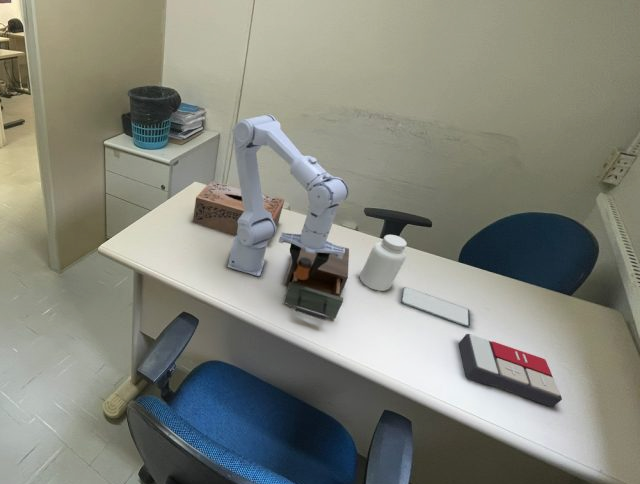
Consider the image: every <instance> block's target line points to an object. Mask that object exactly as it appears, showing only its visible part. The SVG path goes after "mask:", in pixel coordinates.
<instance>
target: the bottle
mask: <svg viewBox="0 0 640 484" xmlns="http://www.w3.org/2000/svg"><path fill="white" fill-rule="evenodd" d="M311 263H312V262H311V260H310V259H308V258H300V260H298V261H297V264H296V269H295V271H294V276H295V277H296V278H298V279H300V280H306V279H308V277H309V274H310V271H311V269H312V264H311Z"/></svg>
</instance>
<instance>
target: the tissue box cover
mask: <svg viewBox="0 0 640 484" xmlns="http://www.w3.org/2000/svg"><path fill="white" fill-rule="evenodd" d="M262 197H263V204H264V209H265V210H267V211H268V212H270V213H271V214H272V219H273V221H274V223H275V225H276V228H277V227H278V225H279V222H280V219H281V214H282V212H283V211H282V210H283V207H284V203H285V198H281V197H276V196H272V195H268V194H266V193H262ZM243 212H244V208H243V202H242V195H241V189H240V186H235V185H230V184H227V183H223V182H219V181H216V180H210V182H208V184H207V185H206V186H205V187H204V188H203V189H202V190H201V191H200V192H199V194H197V195H196V197H195V202H194V210H193V219H192V223H194V224H198V225H200V226H204V227H207V228H210V229H214V230H217V231H219V232H222V233H225V234H229V235H232V236H234V237H235V236H237V229H238V222H237V221H238V219H239V218H240V216H241V215H242V214H243ZM271 239H272V238H270V240H269V242H268V243H267V246H268V245H269V243H270V242H271Z"/></svg>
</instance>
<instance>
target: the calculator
mask: <svg viewBox="0 0 640 484" xmlns="http://www.w3.org/2000/svg"><path fill="white" fill-rule="evenodd" d="M458 346H459V351H460V354H461V361H462V366H463V369H464V374H465V377H466V378H467V379H468V380H472V381H475V382H476V383H480V384H482V385H485V386H494V387H495V388H499V389H501V390H504V391H507V392H510V393H512V394H514V395H515V394H516V395H518V396H520V397H523V398H526V399H529V400H531V401H533V402H537V403H538V404H542V405H545V406H547V407H550V408H554V407H555V406H556V405H557V404H558V403H560V402H561V401H562V400H563V398H562V395H561V393H560V390H559V388H558V385H557V383H556V380H555V378H554V377H553V374H552V372H551V370H550V369H551V368H550V366H549V364H548V362H547V360H546V359H545V358H543V357H540V356H538V355H535V354H532V353H528V352H526V351H522V350H519V349H517V348H514V347H511V346H508V345H504V344H503V343H499V342H496V341H492V340H488V339H485V338H482V337H480V336H477V335H475V334H474V335H473V334H470V333H466V334H465V335H463V337H462V338H461V339H460V340H459V342H458Z"/></svg>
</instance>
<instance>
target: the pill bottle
mask: <svg viewBox="0 0 640 484" xmlns="http://www.w3.org/2000/svg"><path fill="white" fill-rule="evenodd" d="M407 245H408V244H407V241H406V239H404V238H403V237H401V236H398V235H395V234H386V235H384V237H383V239H382V241H378V242H376V243H375V244H374V245H373V246H372V248H371V251H370V252H369V254H368V256H367V259H366V261H365V263H364V266H363V267H362V270H361V272H360V274H359V279H360V282H362V283H363V284H364V285H365V286H366V287H368V288H370V289H372V290H374V291H379V292H384V291H387V290H390V288H391V287H392V285H393V283H394V281H395V280H396V279H397V276H398V274H399V272H400V271H401V269H402V267H403V265H404V262H405V261H406V259H407V252H406V251H405V249H406V248H407Z"/></svg>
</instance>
